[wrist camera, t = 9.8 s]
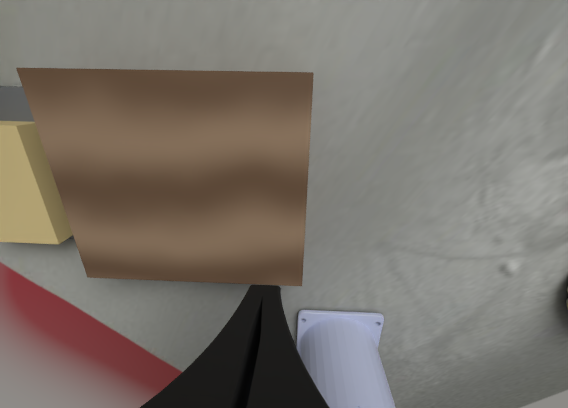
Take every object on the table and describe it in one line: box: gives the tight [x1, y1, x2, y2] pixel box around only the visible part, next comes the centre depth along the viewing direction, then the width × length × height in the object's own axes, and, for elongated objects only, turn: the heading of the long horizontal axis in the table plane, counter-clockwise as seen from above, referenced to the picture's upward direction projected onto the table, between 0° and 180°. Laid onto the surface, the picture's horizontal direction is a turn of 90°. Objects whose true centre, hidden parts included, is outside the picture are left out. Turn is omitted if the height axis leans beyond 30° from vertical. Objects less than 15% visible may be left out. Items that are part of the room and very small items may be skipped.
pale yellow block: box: [0, 121, 73, 244], centre depth 20 cm, size 9×6×2 cm, turn 179°
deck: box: [16, 68, 313, 286], centre depth 19 cm, size 14×16×4 cm
